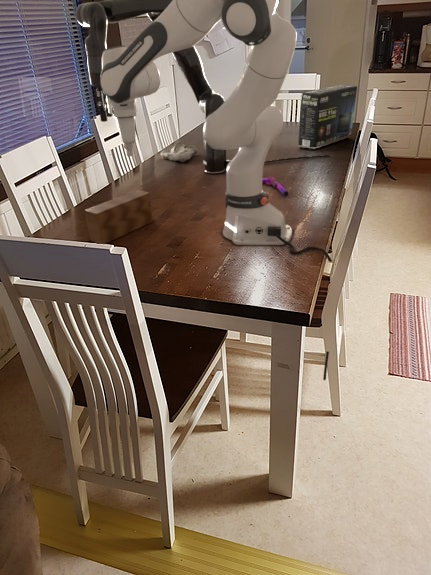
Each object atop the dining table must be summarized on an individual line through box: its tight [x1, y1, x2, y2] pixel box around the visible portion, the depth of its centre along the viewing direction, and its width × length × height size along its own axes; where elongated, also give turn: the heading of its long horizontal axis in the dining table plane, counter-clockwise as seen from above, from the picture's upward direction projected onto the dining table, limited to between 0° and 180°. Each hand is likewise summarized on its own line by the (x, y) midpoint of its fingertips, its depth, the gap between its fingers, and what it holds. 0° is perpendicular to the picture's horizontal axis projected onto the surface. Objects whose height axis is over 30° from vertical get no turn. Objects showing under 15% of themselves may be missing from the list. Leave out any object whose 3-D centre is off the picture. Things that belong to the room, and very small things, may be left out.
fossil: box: [160, 142, 199, 163], centre depth 229 cm, size 18×11×15 cm
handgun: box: [262, 176, 289, 197], centre depth 185 cm, size 21×8×2 cm, turn 11°
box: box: [83, 189, 154, 245], centre depth 152 cm, size 23×6×11 cm, turn 141°
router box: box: [297, 84, 358, 151], centre depth 238 cm, size 36×11×27 cm, turn 134°
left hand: (107, 118), depth 168 cm, fingers open, 8 cm apart
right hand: (128, 151), depth 147 cm, fingers open, 8 cm apart
